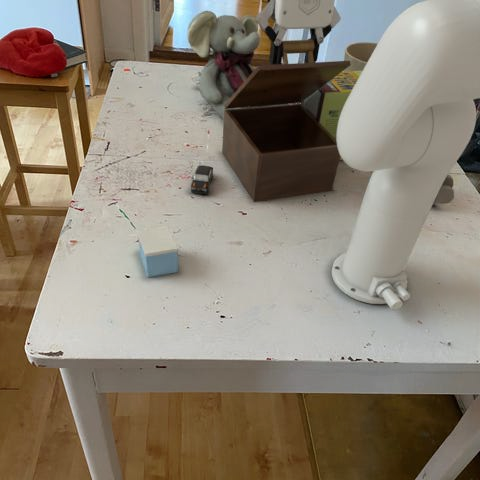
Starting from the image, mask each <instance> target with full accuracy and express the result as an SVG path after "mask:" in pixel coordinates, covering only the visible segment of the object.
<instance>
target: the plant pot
mask: <svg viewBox="0 0 480 480" xmlns="http://www.w3.org/2000/svg"><path fill="white" fill-rule="evenodd" d="M378 43H379V42H369V41H361V42H353V43H350V44H348V45H347V46H345V49H344V56H343V57H344V58H343V61H350V64H351V65H350V66H349V67H348V68H346V69H345V70H344V71H342V72H345V71H363V69H364V68H365V66H366V64H367V62H368V60H369V59H370V57H371V55H372V53H373V52H374V50H375V48H376V46H377V44H378Z"/></svg>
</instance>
